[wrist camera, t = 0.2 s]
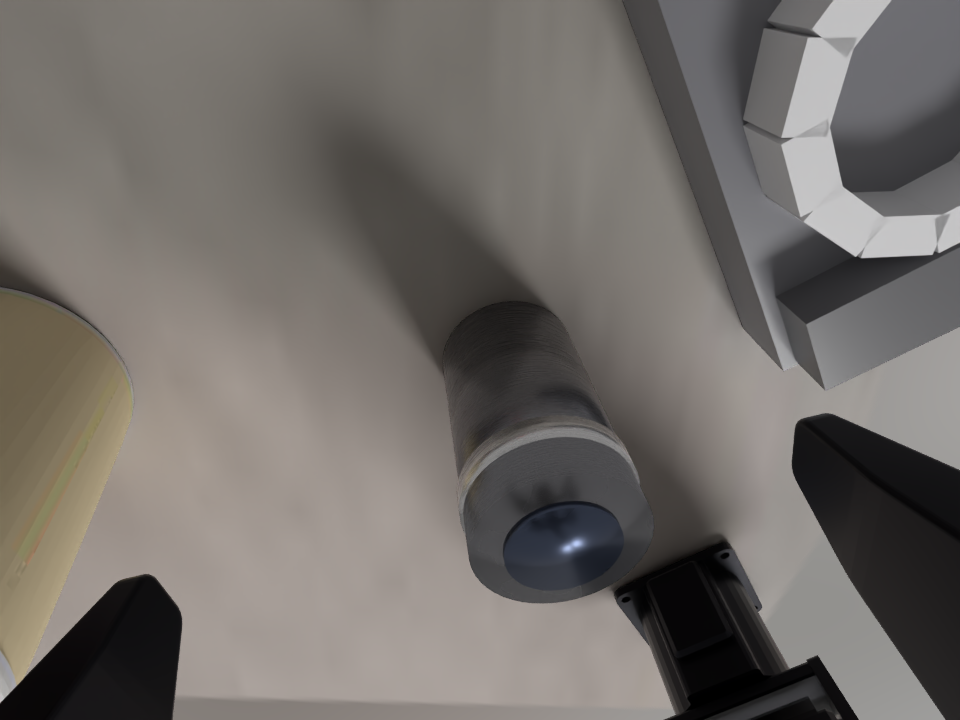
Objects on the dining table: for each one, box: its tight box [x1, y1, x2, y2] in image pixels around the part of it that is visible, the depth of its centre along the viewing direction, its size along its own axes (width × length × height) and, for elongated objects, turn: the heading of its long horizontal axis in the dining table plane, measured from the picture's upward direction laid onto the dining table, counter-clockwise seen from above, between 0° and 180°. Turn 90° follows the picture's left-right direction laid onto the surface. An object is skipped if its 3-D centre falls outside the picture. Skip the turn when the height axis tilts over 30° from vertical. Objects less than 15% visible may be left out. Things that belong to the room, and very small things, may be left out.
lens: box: [443, 302, 654, 603], centre depth 20 cm, size 5×5×9 cm
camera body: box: [623, 0, 960, 391], centre depth 17 cm, size 16×11×5 cm
